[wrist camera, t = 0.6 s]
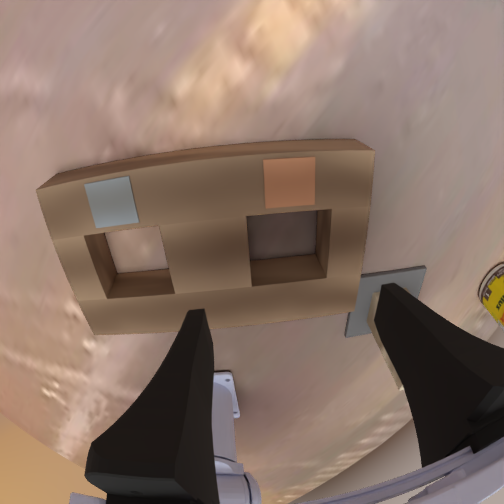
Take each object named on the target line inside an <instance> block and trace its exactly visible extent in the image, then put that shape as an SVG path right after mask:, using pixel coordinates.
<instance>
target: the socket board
mask: <svg viewBox="0 0 504 504" xmlns="http://www.w3.org/2000/svg"><path fill="white" fill-rule="evenodd" d="M374 157H375V150H373V149H372V148H370V147H368V146H366V145H365V144H363V143H361V142H359V141H357V140H356V139H316V140H289V141H271V142H256V143H243V144H232V145H222V146H212V147H203V148H195V149H187V150H180V151H172V152H166V153H159V154H153V155H146V156H140V157H135V158H129V159H123V160H118V161H113V162H108V163H103V164H98V165H93V166H89V167H84V168H80V169H75V170H71V171H67V172H63V173H58V174H56V175H55V176H53V177H52V178H51V179H49V180H48V181H47V182H45V183H44V184H43V185H42V186H40V187H39V188H38V189H36V193H37V196H38V200H39V203H40V206H41V209H42V212H43V215H44V218H45V221H46V224H47V227H48V230H49V233H50V236H51V239H52V241H53V244H54V247H55V249H56V252H57V254H58V257H59V260H60V262H61V264H62V267H63V269H64V272H65V274H66V277H67V279H68V281H69V283H70V286H71V288H72V290H73V292H74V295H75V297H76V299H77V301H78V303H79V305H80V308H81V310H82V312H83V314H84V316H85V318H86V320H87V322H88V324H89V326H90V328H91V330H92V332H93V333H94V335H116V334H143V333H162V332H178V331H179V330H180V328H181V326H182V323H183V321H184V319H185V316H186V313H187V312H188V311H189V310H194V309H204V308H205V313H206V317H207V321H208V325H209V329H217V328H228V327H239V326H249V325H258V324H267V323H275V322H283V321H291V320H299V319H306V318H314V317H321V316H328V315H334V314H341V313H347V312H353V311H354V310H355V305H356V300H357V294H358V289H359V283H360V277H361V271H362V265H363V258H364V252H365V245H366V237H367V230H368V222H369V213H370V204H371V194H372V183H373V171H374ZM311 210H317V233H316V253H315V254H312V255H302V256H292V257H283V258H273V259H263V260H254V261H250V259H249V246H248V233H247V220H246V216H253V215H264V214H275V213H287V212H299V211H311ZM152 226H159V228H160V233H161V237H162V242H163V246H164V250H165V254H166V259H167V263H168V267H169V269H163V270H152V271H142V272H131V273H120V274H117V272H116V269H115V266H114V263H113V260H112V257H111V254H110V251H109V247H108V244H107V241H106V238H105V234H104V233H105V232H113V231H120V230H128V229H136V228H144V227H152Z"/></svg>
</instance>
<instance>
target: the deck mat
mask: <svg viewBox="0 0 504 504" xmlns="http://www.w3.org/2000/svg"><path fill="white" fill-rule="evenodd" d="M426 269H427V268H426V267H425V266H420V267H413V268H406V269H400V270H393V271H386V272H379V273H372V274H364V275H361V277H360V283H359V289H358V294H357V300H356V305H355V310H354V311H353V312H349V314H348V319H347V325H346V330H345V337H346V338H348V337H353V336H359V335H364V334H369V333H372V332H371V330H370V328H369V326H368V324H367V322H366V321H367V317H368V313H369V308H370V304H371V300H372V295H373V293H376V292H380V290H381V285H382V284H388V283H396V284H397V285H399V286H400V287H402V288H405V287H406V288H407V289H408V291H409V292H410V294H411V295H413V296H414V297H415V298H417V299H418V296H419V293H420V289H421V286H422V283H423V280H424V276H425V273H426Z"/></svg>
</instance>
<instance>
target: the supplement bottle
mask: <svg viewBox="0 0 504 504" xmlns="http://www.w3.org/2000/svg"><path fill="white" fill-rule="evenodd" d="M479 298H480V301H481V302H482V304H483V305H484V306H485V307H486V309H487V310H488V311H489V313H490V314H491V315H492V316H493V318H494V319H495V320H496V322H497V323H498V324H499V326H500V327H501V328H502V330H503V331H504V264H501V265H498V266H497V267H495V268H494V269H493V270H492V271H491V272H490V273H489V274H488V275H487V276H486V278H485V279H484V281H483V283H482V285H481V288H480V292H479Z"/></svg>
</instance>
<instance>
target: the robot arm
mask: <svg viewBox="0 0 504 504" xmlns="http://www.w3.org/2000/svg"><path fill="white" fill-rule="evenodd" d="M374 323H375V325H376V328H377V331H378V334H379V337H380V340H381V342H382V344H383V346H384V348H385V350H386V352H387V354H388V356H389V358H390V360H391V362H392V364H393V366H394V368H395V370H396V372H397V374H398V376H399V378H400V380H401V383H402V385H403V388H404V390H405V393H406V396H407V399H408V402H409V406H410V409H411V413H412V416H413V420H414V424H415V428H416V433H417V438H418V443H419V449H420V456H421V464H422V468H421V469H418V470H416V471H413V472H411V473H408V474H405V475H403V476H400V477H397V478H394V479H392V480H388V481H385V482H382V483H379V484H376V485H373V486H370V487H366V488H363V489H360V490H356V491H352V492H349V493H345V494H340V495H336V496H332V497H327V498H323V499H318V500H313V501H308V502H302V503H297V504H375V503H379V502H382V501H385V500H388V499H390V498H393V497H396V496H399V495H402V494H404V493H407V492H409V491H412V490H414V489H417V488H419V487H422V486H424V485H426V484H428V483H431V482H433V481H435V480H438V479H439V478H442V477H444V476H445V477H444V478H442V479H440V480H439V481H436V482H435V483H433V484H431V485H429V486H427V487H426V488H425V489H424V490H423V491H421V492H420V493H418V494H417V495H415V496H413V497H411V498H410V499H409V500H408V502H407V503H405V504H479V503H481V502H482V501H484V500H485V499H487V498H488V497H490V496H491V495H493V494H494V493H496V492H497V491H498V490H500V489H501V488H503V487H504V348H501V347H498V346H496V345H493V344H491V343H488V342H486V341H484V340H482V339H480V338H477V337H475V336H473V335H471V334H469V333H468V332H466V331H464V330H462V329H461V328H459V327H457V326H455V325H454V324H452V323H451V322H449V321H448V320H446V319H445V318H443V317H442V316H440V315H439V314H437V313H436V312H434V311H433V310H432V309H430V308H429V307H427V306H426V305H425V304H423V303H422V302H421V301H419V300H418V299H417V298H415V297H414V296H413V295H411V294H410V293H409V292H407V291H406V290H404V289H403V288H402V287H400V286H399V285H397V284H396V283H388V284H382V285H381V290H380V295H379V300H378V304H377V309H376V313H375V317H374ZM239 417H240V411H239V407H238V402H237V397H236V392H235V386H234V381H233V376H232V373H230V372H217V373H214V352H213V342H212V338H211V334H210V329H209V325H208V321H207V317H206V313H205V308H204V309H194V310H189V311H188V312H187V313H186V316H185V319H184V321H183V323H182V326H181V328H180V330H179V332H178V334H177V336H176V338H175V340H174V342H173V344H172V346H171V348H170V350H169V352H168V354H167V356H166V357H165V359H164V361H163V362H162V364H161V366H160V367H159V369H158V371H157V372H156V374H155V375H154V377H153V378H152V380H151V381H150V382H149V384H148V385H147V387H146V388H145V389H144V391H143V392H142V393H141V394H140V396H139V397H138V398H137V399H136V401H135V402H134V403H133V404H132V405H131V406H130V407H129V409H128V410H127V411H126V412H125V413H124V414H123V415H122V416H121V417H120V418H119V419H118V420H117V421H116V422H115V423H114V424H113V425H112V426H111V427H110V428H108V429H107V430H106V431H105V432H104V433H103V434H101V435H100V436H99V437H98V438H97V439H95V440H94V441H93V442H92V443H91V446H90V449H89V452H88V457H87V462H86V469H85V478H86V479H87V480H88V481H89V482H90V483H91V484H93V485H95V486H96V487H98V488H99V489H101V490H103V491H104V492H106V493H107V499H106V500H104V499H101V498H98V497H93V496H87V495H83V494H78V493H74V492H72V493H71V494H70V502H69V504H261V492H260V488H259V485H258V483H257V481H256V480H255V478H254V477H253V476H252V475H251V474H250V473H249V472H244V468H243V463H237V456H236V444H235V430H234V418H239Z"/></svg>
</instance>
